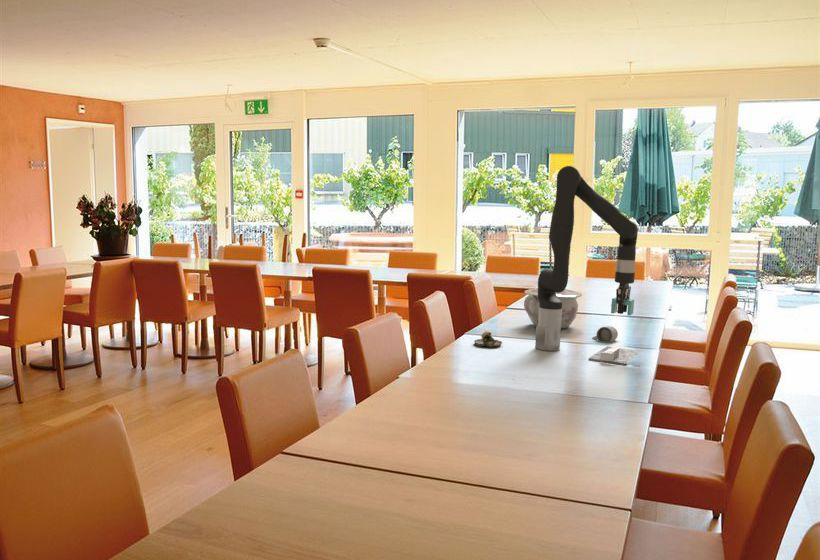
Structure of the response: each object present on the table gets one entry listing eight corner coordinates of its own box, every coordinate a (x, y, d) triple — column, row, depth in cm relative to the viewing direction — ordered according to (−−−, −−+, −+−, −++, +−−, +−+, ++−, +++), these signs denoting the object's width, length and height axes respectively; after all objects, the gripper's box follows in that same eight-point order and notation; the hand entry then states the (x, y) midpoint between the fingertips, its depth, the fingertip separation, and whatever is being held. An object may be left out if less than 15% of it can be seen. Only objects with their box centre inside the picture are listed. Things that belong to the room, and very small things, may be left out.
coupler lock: (630, 315, 277) (631, 300, 276) (609, 313, 281) (610, 298, 281) (633, 313, 281) (634, 299, 281) (612, 311, 286) (613, 297, 285)
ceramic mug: (618, 342, 307) (619, 325, 306) (611, 345, 301) (612, 328, 300) (596, 339, 313) (596, 322, 312) (589, 341, 307) (590, 325, 306)
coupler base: (624, 366, 264) (625, 355, 263) (588, 360, 271) (589, 350, 270) (641, 353, 286) (641, 343, 285) (607, 348, 293) (607, 339, 292)
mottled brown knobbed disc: (479, 349, 286) (480, 331, 285) (469, 343, 297) (470, 326, 296) (506, 348, 289) (507, 330, 288) (495, 342, 300) (496, 325, 299)
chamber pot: (575, 322, 351) (578, 282, 348) (583, 333, 324) (586, 289, 321) (519, 320, 353) (521, 279, 351) (523, 330, 326) (525, 287, 324)
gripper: (630, 273, 271) (626, 316, 273) (638, 270, 283) (635, 311, 285) (610, 271, 275) (607, 313, 277) (620, 268, 287) (617, 309, 289)
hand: (622, 312), depth 281 cm, fingers closed on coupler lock, 5 cm apart
